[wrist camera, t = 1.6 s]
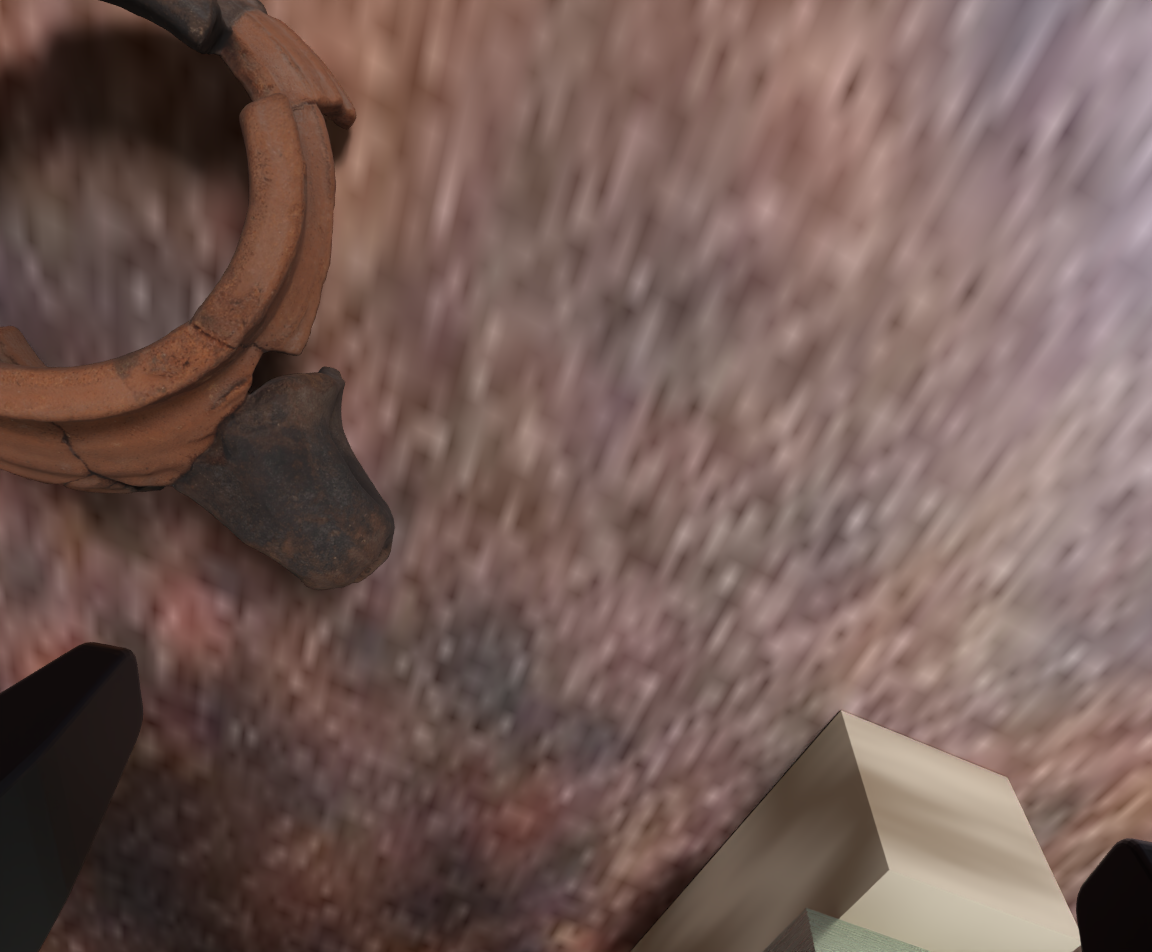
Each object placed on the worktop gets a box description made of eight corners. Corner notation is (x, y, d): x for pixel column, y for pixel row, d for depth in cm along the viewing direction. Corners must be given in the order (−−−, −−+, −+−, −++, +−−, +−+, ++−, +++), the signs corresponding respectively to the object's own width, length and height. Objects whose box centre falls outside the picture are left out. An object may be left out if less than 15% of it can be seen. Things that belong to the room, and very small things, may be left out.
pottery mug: (-130, 267, 21) (-495, 147, 13) (200, -16, 22) (59, -299, 13) (269, 658, 22) (174, 778, 14) (565, 379, 23) (638, 339, 15)
